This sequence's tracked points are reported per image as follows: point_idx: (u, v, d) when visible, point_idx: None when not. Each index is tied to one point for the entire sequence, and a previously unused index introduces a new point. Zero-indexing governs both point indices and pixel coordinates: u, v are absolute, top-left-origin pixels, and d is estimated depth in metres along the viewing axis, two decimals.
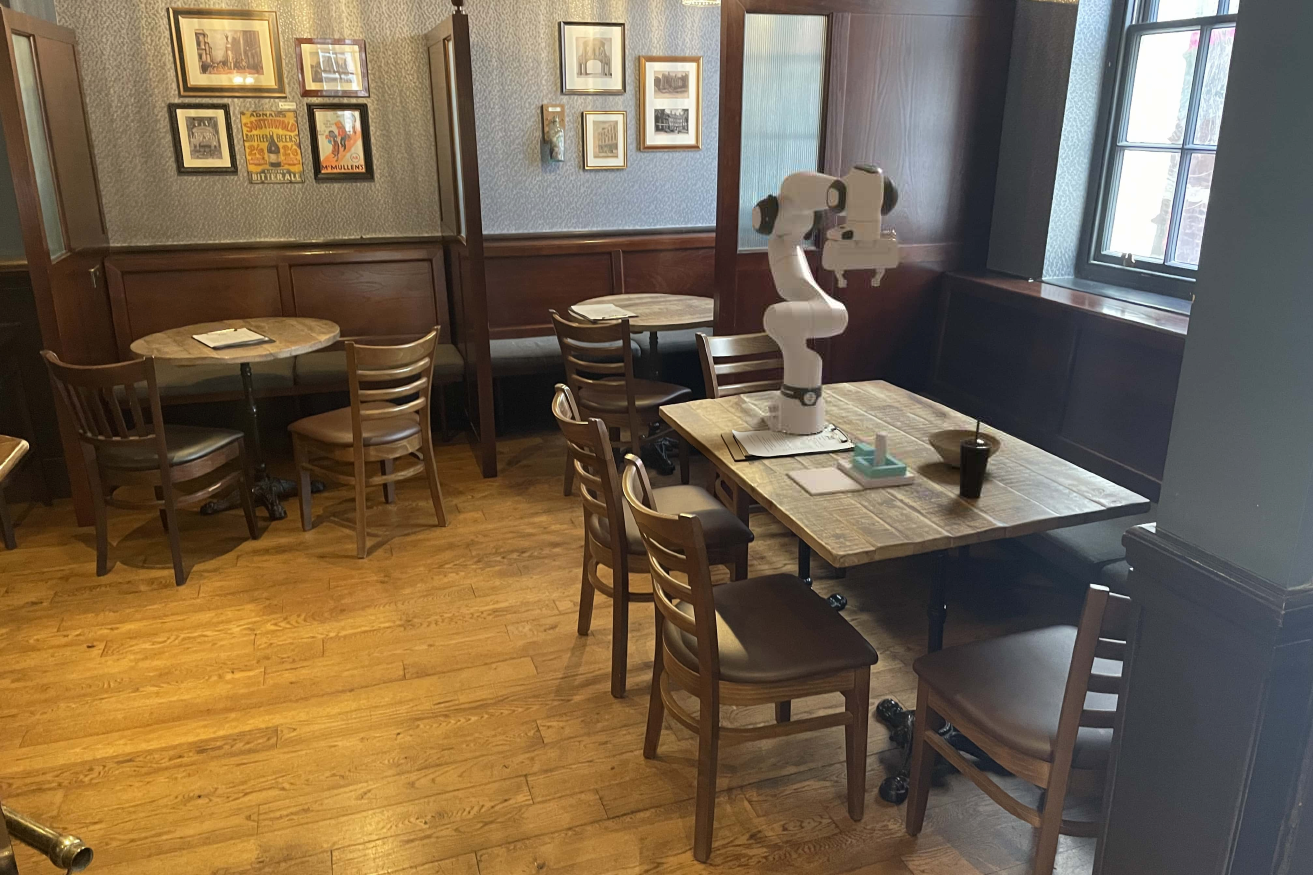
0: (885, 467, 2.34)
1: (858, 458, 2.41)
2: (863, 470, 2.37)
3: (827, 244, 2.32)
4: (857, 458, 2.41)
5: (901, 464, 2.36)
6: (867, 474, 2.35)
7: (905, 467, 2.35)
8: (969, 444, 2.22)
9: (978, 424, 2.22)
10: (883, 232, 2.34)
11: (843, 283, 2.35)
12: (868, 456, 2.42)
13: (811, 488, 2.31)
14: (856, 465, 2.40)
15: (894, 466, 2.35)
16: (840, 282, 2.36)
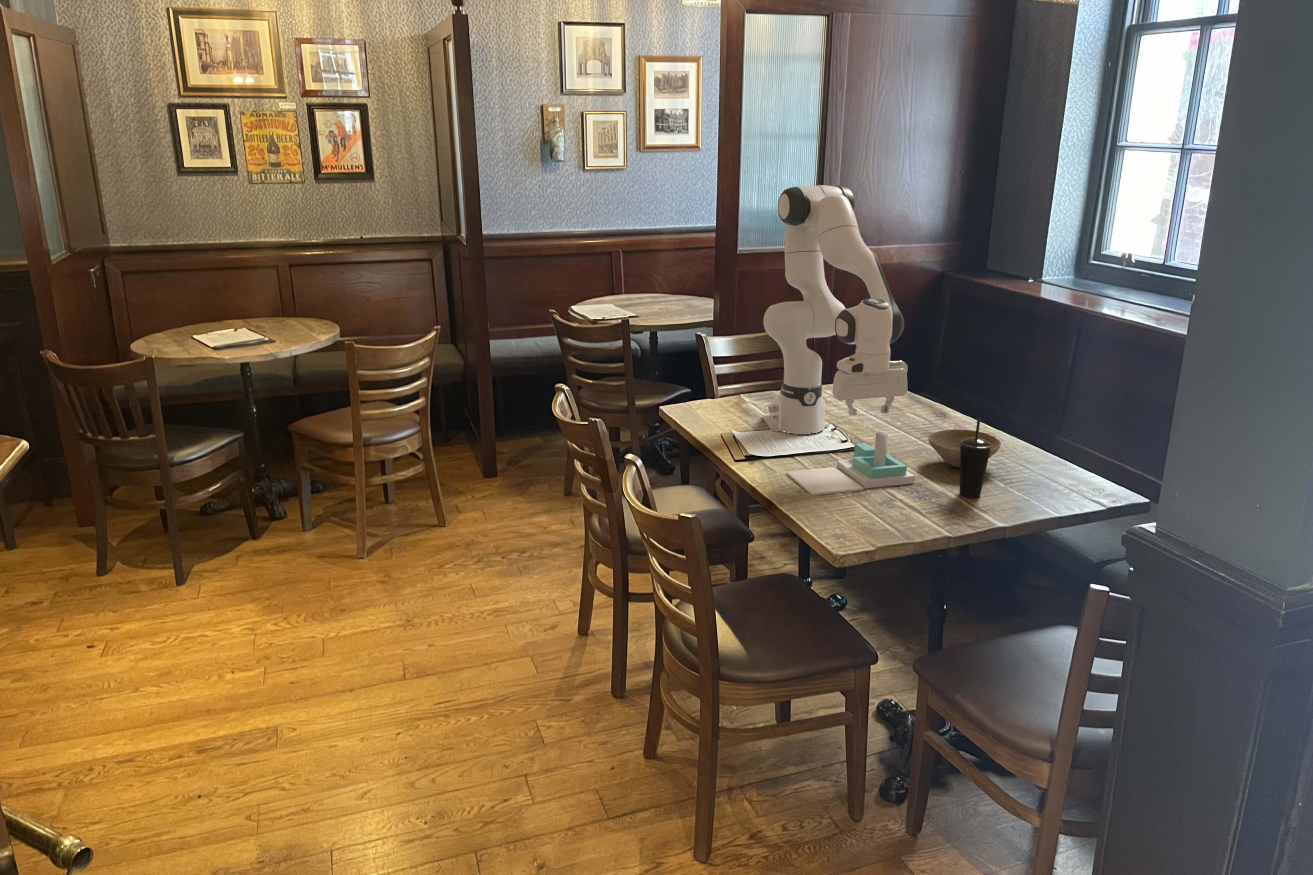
0: (885, 467, 2.34)
1: (858, 458, 2.41)
2: (863, 470, 2.37)
3: (837, 375, 2.37)
4: (857, 458, 2.41)
5: (901, 464, 2.36)
6: (867, 474, 2.35)
7: (905, 467, 2.35)
8: (969, 444, 2.22)
9: (978, 424, 2.22)
10: (892, 362, 2.39)
11: (853, 412, 2.40)
12: (868, 456, 2.42)
13: (811, 488, 2.31)
14: (856, 465, 2.40)
15: (894, 466, 2.35)
16: (850, 410, 2.40)
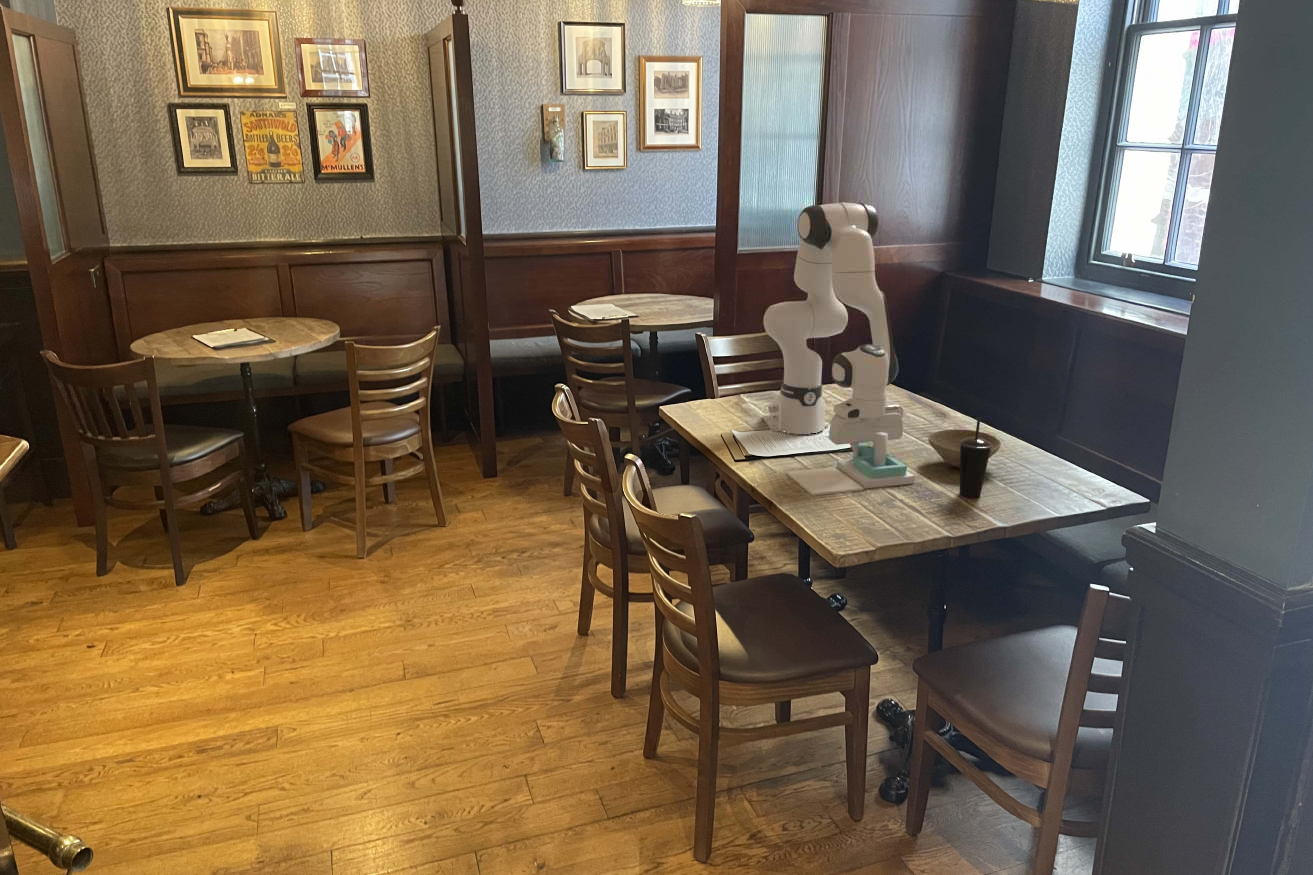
0: (885, 467, 2.34)
1: (858, 458, 2.41)
2: (863, 470, 2.37)
3: (834, 420, 2.41)
4: (857, 458, 2.41)
5: (901, 464, 2.36)
6: (867, 474, 2.35)
7: (905, 467, 2.35)
8: (969, 444, 2.22)
9: (978, 424, 2.22)
10: (888, 406, 2.43)
11: (858, 454, 2.44)
12: (868, 456, 2.42)
13: (811, 488, 2.31)
14: (856, 465, 2.40)
15: (894, 466, 2.35)
16: (855, 453, 2.45)
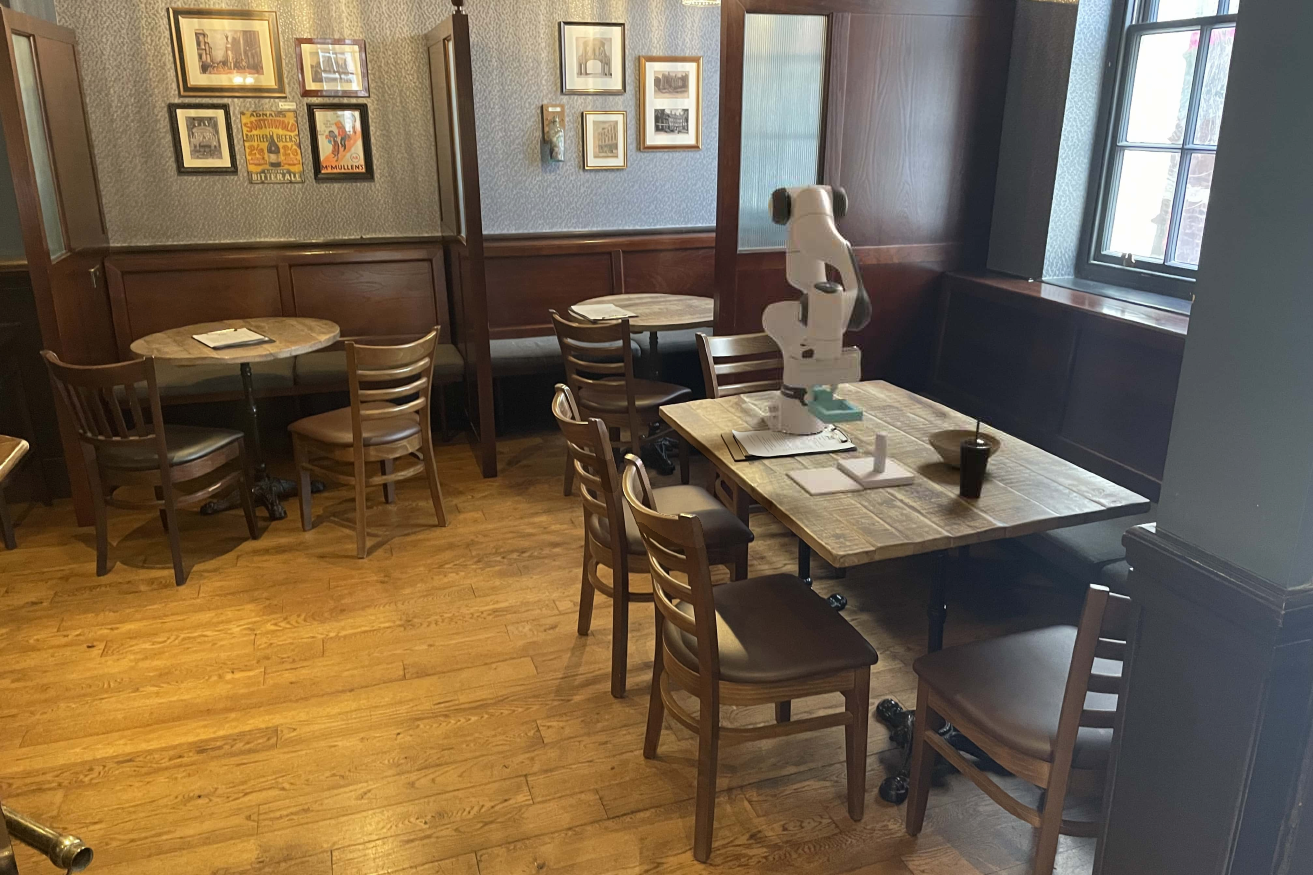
0: (840, 412, 2.23)
1: (814, 402, 2.30)
2: (817, 415, 2.26)
3: (788, 361, 2.30)
4: (812, 402, 2.30)
5: (857, 409, 2.25)
6: (821, 419, 2.24)
7: (861, 412, 2.24)
8: (969, 444, 2.22)
9: (978, 424, 2.22)
10: (845, 348, 2.32)
11: (814, 398, 2.33)
12: (824, 401, 2.31)
13: (811, 488, 2.31)
14: (811, 410, 2.29)
15: (850, 411, 2.24)
16: (810, 397, 2.34)
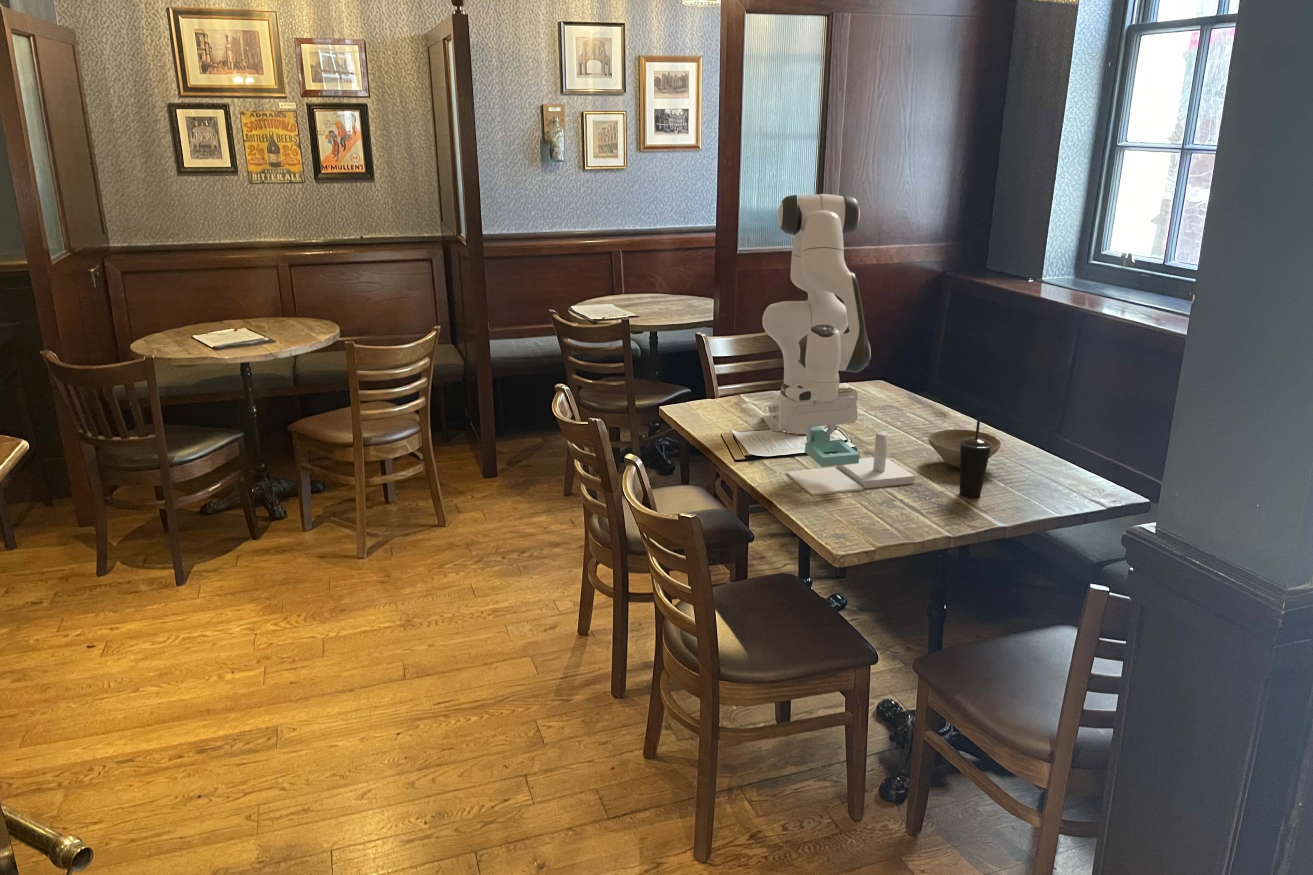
0: (837, 455, 2.27)
1: (811, 444, 2.33)
2: (815, 457, 2.29)
3: (785, 403, 2.33)
4: (809, 444, 2.33)
5: (854, 452, 2.29)
6: (818, 462, 2.27)
7: (858, 455, 2.27)
8: (969, 444, 2.22)
9: (978, 424, 2.22)
10: (841, 389, 2.35)
11: (811, 439, 2.37)
12: (821, 442, 2.34)
13: (811, 488, 2.31)
14: (808, 451, 2.33)
15: (846, 454, 2.27)
16: (808, 437, 2.37)
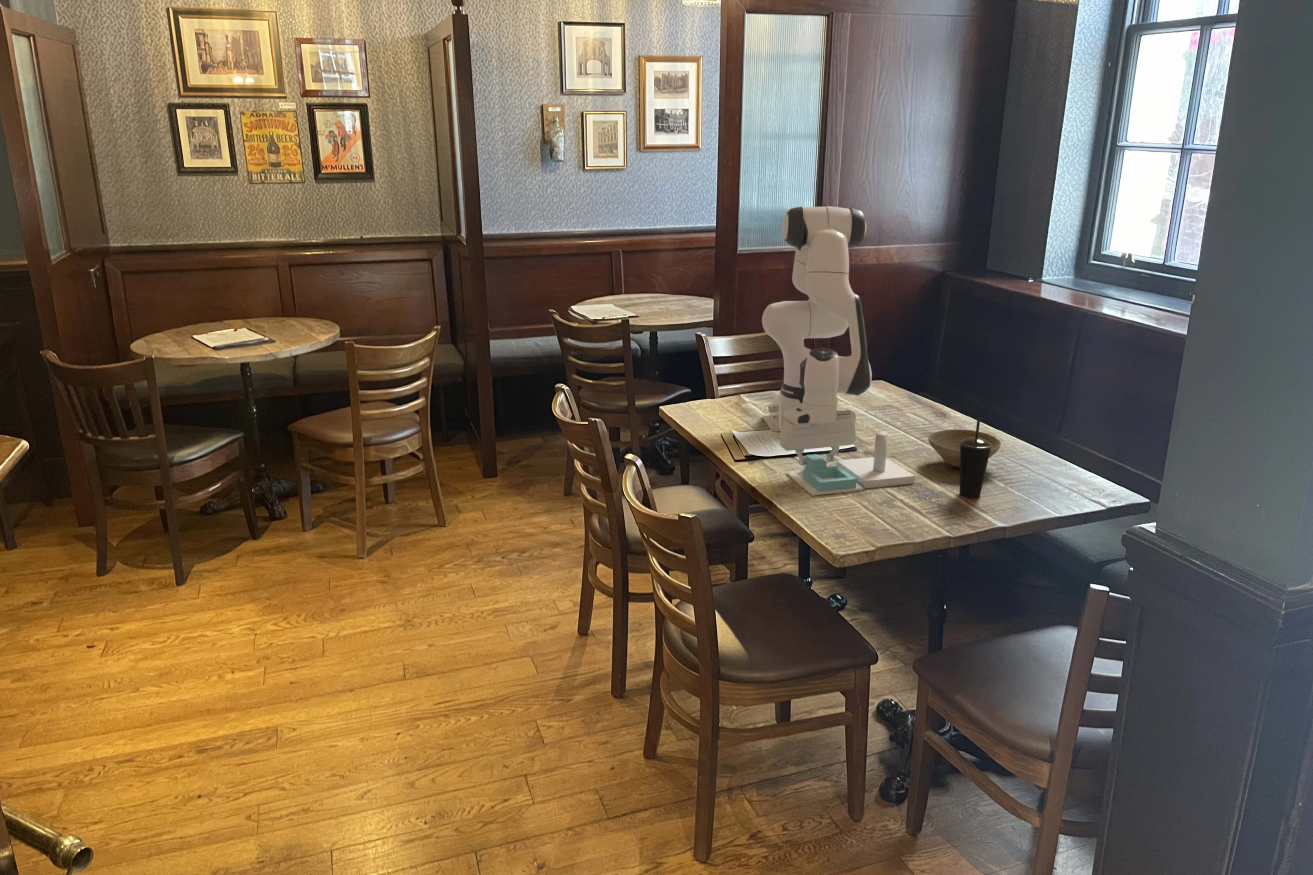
0: (834, 480, 2.29)
1: (808, 470, 2.36)
2: (812, 483, 2.32)
3: (784, 425, 2.35)
4: (807, 470, 2.36)
5: (851, 477, 2.31)
6: (816, 487, 2.30)
7: (855, 480, 2.30)
8: (969, 444, 2.22)
9: (978, 424, 2.22)
10: (840, 412, 2.37)
11: (803, 461, 2.38)
12: (818, 468, 2.37)
13: (811, 488, 2.31)
14: (806, 477, 2.35)
15: (843, 479, 2.30)
16: (800, 460, 2.39)
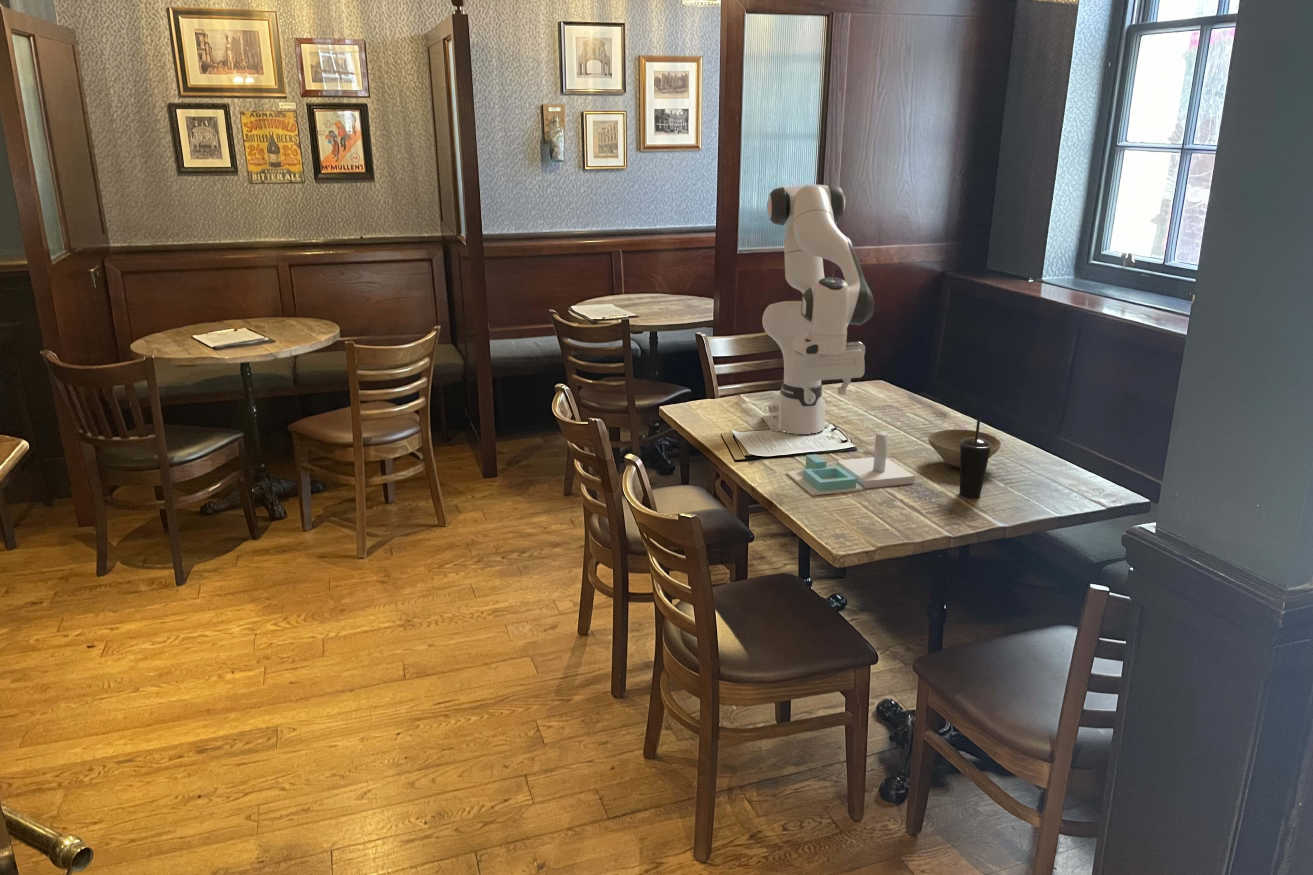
0: (834, 480, 2.29)
1: (808, 470, 2.36)
2: (812, 483, 2.32)
3: (792, 356, 2.32)
4: (807, 470, 2.36)
5: (851, 477, 2.31)
6: (816, 487, 2.30)
7: (855, 480, 2.30)
8: (969, 444, 2.22)
9: (978, 424, 2.22)
10: (849, 343, 2.34)
11: (808, 394, 2.35)
12: (818, 468, 2.37)
13: (811, 488, 2.31)
14: (806, 477, 2.35)
15: (843, 479, 2.30)
16: (805, 392, 2.35)
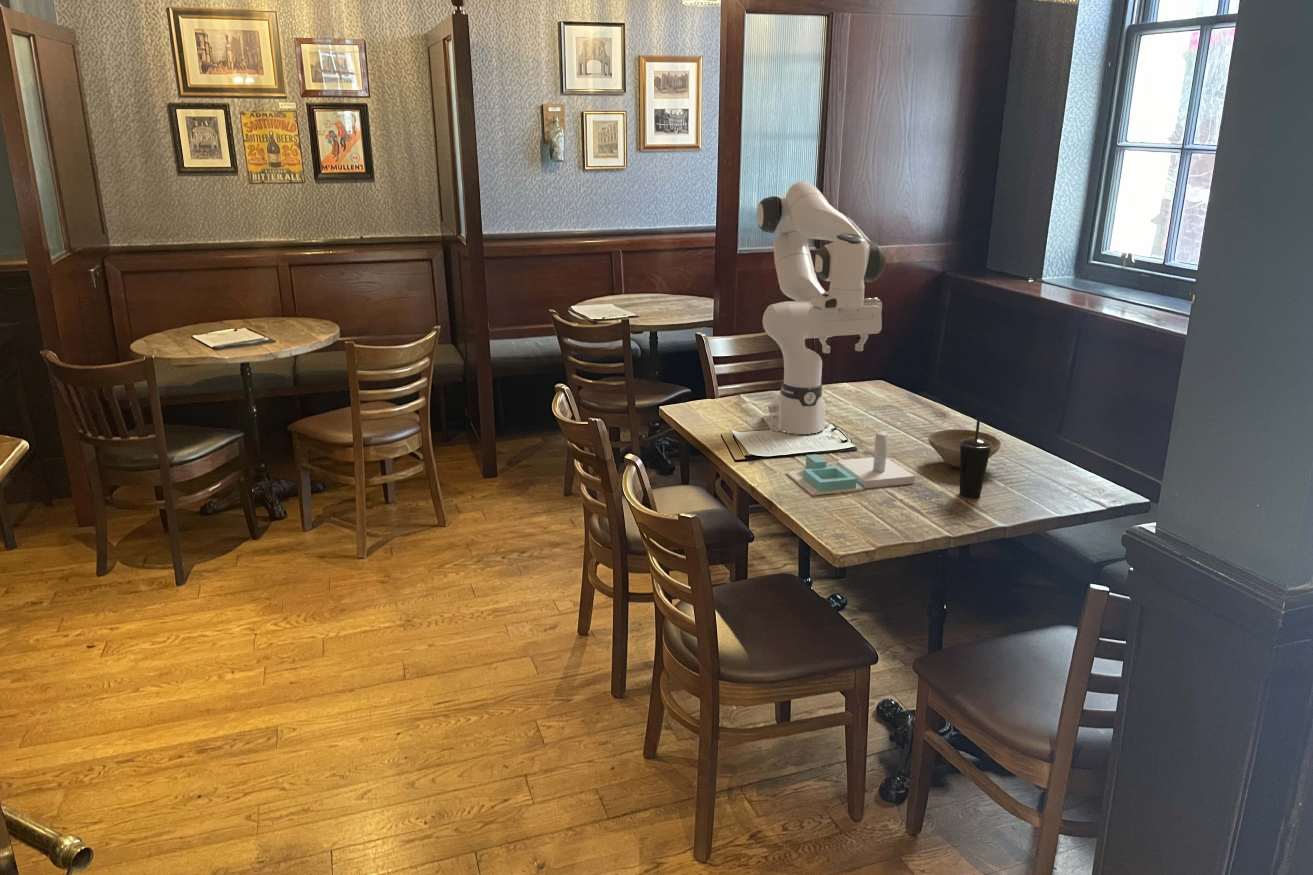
0: (834, 480, 2.29)
1: (808, 470, 2.36)
2: (812, 483, 2.32)
3: (811, 311, 2.35)
4: (807, 470, 2.36)
5: (851, 477, 2.31)
6: (816, 487, 2.30)
7: (855, 480, 2.30)
8: (969, 444, 2.22)
9: (978, 424, 2.22)
10: (866, 299, 2.37)
11: (827, 349, 2.38)
12: (818, 468, 2.37)
13: (811, 488, 2.31)
14: (806, 477, 2.35)
15: (843, 479, 2.30)
16: (824, 347, 2.38)
